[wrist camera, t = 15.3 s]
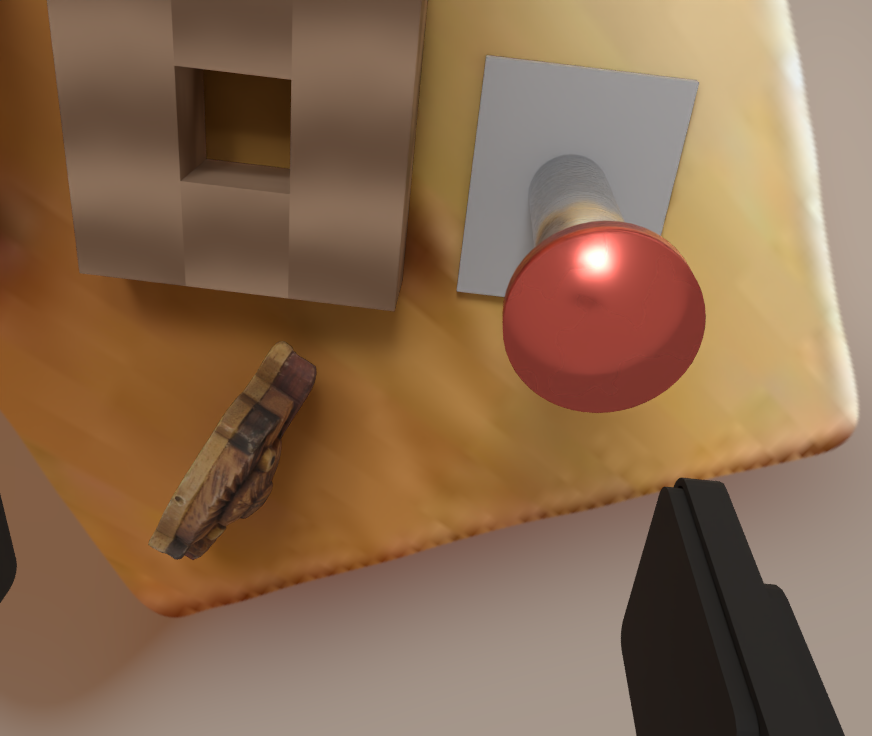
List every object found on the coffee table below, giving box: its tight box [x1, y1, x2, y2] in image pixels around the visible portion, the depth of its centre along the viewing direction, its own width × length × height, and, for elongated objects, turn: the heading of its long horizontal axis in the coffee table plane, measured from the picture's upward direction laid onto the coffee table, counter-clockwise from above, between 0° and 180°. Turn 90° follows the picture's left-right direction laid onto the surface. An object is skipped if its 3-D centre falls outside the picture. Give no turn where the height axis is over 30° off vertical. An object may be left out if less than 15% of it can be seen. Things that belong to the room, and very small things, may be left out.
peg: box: [503, 154, 706, 413], centre depth 34 cm, size 7×7×15 cm
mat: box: [457, 55, 699, 297], centre depth 41 cm, size 12×10×1 cm
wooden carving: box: [149, 341, 316, 560], centre depth 45 cm, size 16×5×10 cm, turn 153°
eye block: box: [47, 0, 428, 311], centre depth 39 cm, size 16×16×4 cm
